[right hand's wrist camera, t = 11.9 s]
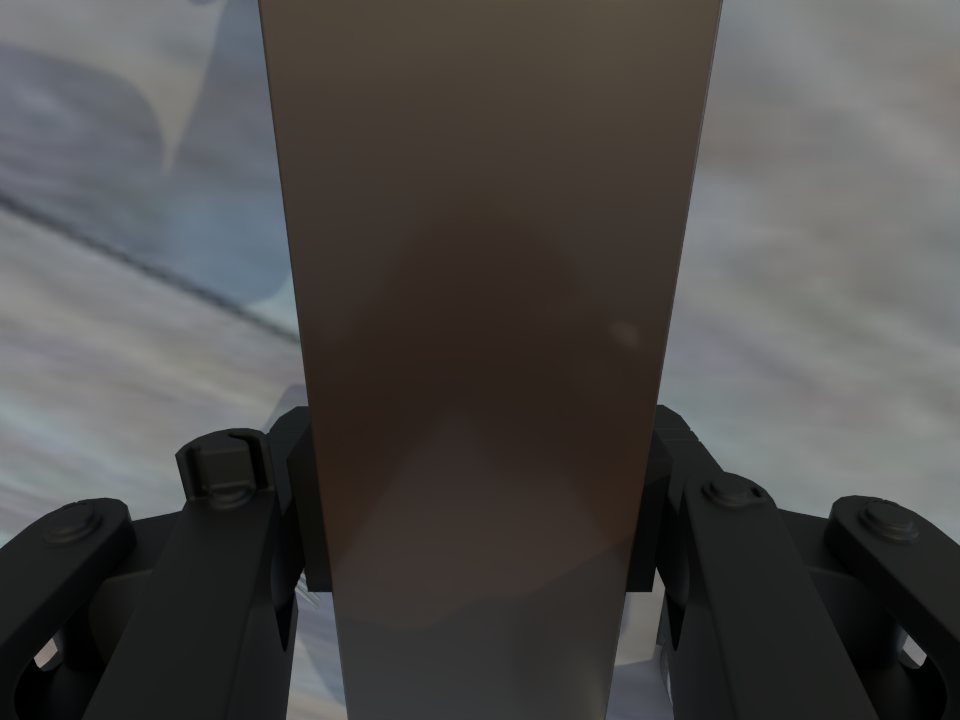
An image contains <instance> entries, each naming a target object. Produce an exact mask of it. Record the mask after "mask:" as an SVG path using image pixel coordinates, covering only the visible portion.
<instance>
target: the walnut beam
mask: <svg viewBox="0 0 960 720" xmlns="http://www.w3.org/2000/svg"><path fill="white" fill-rule="evenodd" d="M722 3H723V0H258V5H259V13H260V21H261V29H262V37H263V45H264V53H265V61H266V69H267V77H268V85H269V93H270V101H271V109H272V117H273V125H274V133H275V141H276V149H277V157H278V165H279V173H280V181H281V189H282V197H283V205H284V213H285V221H286V229H287V237H288V245H289V253H290V261H291V269H292V277H293V285H294V293H295V301H296V309H297V317H298V325H299V333H300V341H301V349H302V357H303V365H304V373H305V381H306V389H307V397H308V405H309V413H310V421H311V429H312V437H313V445H314V453H315V461H316V469H317V477H318V485H319V493H320V500H321V508H322V516H323V524H324V532H325V540H326V548H327V556H328V564H329V572H330V580H331V588H332V596H333V604H334V612H335V620H336V628H337V636H338V644H339V652H340V660H341V668H342V676H343V684H344V692H345V700H346V708H347V716H348V720H605V717H606V711H607V705H608V699H609V693H610V687H611V681H612V675H613V668H614V662H615V656H616V650H617V644H618V638H619V632H620V626H621V620H622V613H623V607H624V601H625V595H626V589H627V583H628V577H629V571H630V565H631V559H632V552H633V546H634V540H635V534H636V528H637V522H638V516H639V510H640V504H641V497H642V491H643V485H644V479H645V473H646V467H647V461H648V455H649V449H650V443H651V436H652V430H653V424H654V418H655V412H656V406H657V400H658V394H659V388H660V381H661V375H662V369H663V363H664V357H665V351H666V345H667V339H668V333H669V327H670V320H671V314H672V308H673V302H674V296H675V290H676V284H677V278H678V272H679V265H680V259H681V253H682V247H683V241H684V235H685V229H686V223H687V217H688V211H689V204H690V198H691V192H692V186H693V180H694V174H695V168H696V162H697V156H698V149H699V143H700V137H701V131H702V125H703V119H704V113H705V107H706V101H707V94H708V88H709V82H710V76H711V70H712V64H713V58H714V52H715V46H716V40H717V33H718V27H719V21H720V15H721V9H722Z"/></svg>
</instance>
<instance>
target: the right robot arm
mask: <svg viewBox="0 0 960 720" xmlns="http://www.w3.org/2000/svg"><path fill="white" fill-rule="evenodd" d="M175 457H176V461H177V465H178V468H179V472H180V476H181V480H182V484H183V488H184V492H185V496H186V500H187V501H186V503H185V505H184V507H183V509H182V511H179V512H175V513H171V514H166V515H161V516H156V517H150V518H145V519H140V520H135V521H132V520H131V516H130V513H129V510H128V507H127V505H126V504H124V503H123V502H122V501H120V500H118V499H111V498H97V499H86V500H81V501H78V502H77V503H75V502H74V503H70V504H67V505H65V506H63V507H61V508H59V509H57V510H55V511H53V512H50V513H48V514H46V515H44V516H43V517H41V518H40V519H38V520H37V521H35V522H34V523H32V524H31V525H29V526H28V527H27V528H25V529H24V530H23V531H22V532H20V533H19V534H18V535H17V536H15V537H14V538H13V539H12V540H10V541H9V542H8V543H7V544H6V545H4V546H3V547H2V548H1V549H0V720H286V713H287V705H288V696H289V688H290V679H291V670H292V662H293V653H294V645H295V636H296V628H297V619H298V605H297V599H296V593H295V588H296V585H297V583H298V581H299V578H300V576H301V574H302V571H303V569H304V572H305V578H306V584H307V590H308V592H332V588H331V580H330V572H329V564H328V556H327V548H326V540H325V532H324V524H323V516H322V508H321V500H320V493H319V485H318V477H317V469H316V461H315V453H314V445H313V437H312V429H311V421H310V413H309V406H297V407H295V408H294V409H292V410H291V411H289V412H287V413H286V414H284V415H283V416H281V417H279V419H278V420H277V421H276V423H275V424H274V425H273V426H272V428H271V429H270V433H267V434H266V435H265V434H264V433H263V432H261V431H259V430H254V429H249V428H232V429H226V430H221V431H216V432H212V433H209V434H207V435H204V436H201V437H198V438H196V439H194V440H193V441H191V442H189V443H187V444H186V445H184V446H183V447H182V448H181V449H180V450H179V451H178V452H177V453H176V454H175ZM656 567H657V570H658V572H659V574H660V577H661V579H662V581H663V583H664V586H665V593H664V599H663V605H662V610H661V616H660V622H659V627H658V633H657V640H656V644H658V645H663V641H664V636H665V644H664V647H663V650H662V655H661V673H662V678H663V681H664V684H665V687H666V690H667V693H668V695H669V698H670V701H671V704H672V707H673V712H674V720H960V545H958V544H957V543H956V542H955V541H953V540H952V539H951V538H950V537H948V536H947V535H946V534H945V533H943V532H942V531H941V530H940V529H938V528H937V527H936V526H935V525H933V524H932V523H931V522H929V521H928V520H926V519H924V518H923V517H921V516H920V515H918V514H917V513H915V512H913V511H911V510H909V509H907V508H904V507H902V506H900V505H898V504H897V503H895V502H891V501H888V500H883V499H881V498H876V497H867V496H857V495H853V496H846V497H841V498H839V499H838V500H837V501H835V502H834V503H833V505H832V509H831V512H830V515H829V518H828V519H826V518H821V517H816V516H811V515H806V514H801V513H796V512H790V511H786V510H782V509H778V508H777V506H776V504H775V502H774V500H773V499H772V498H771V496H770V495H769V494H768V493H767V491H766V490H765V489H763V488H762V487H760V486H759V485H757V484H756V483H755V482H753V481H751V480H749V479H746V478H744V477H741V476H739V475H737V474H732V473H728V472H724V471H723V470H722V469H721V467H720V466H719V465H718V463H717V462H716V461H715V460H714V458H713V457H712V456H711V454H710V453H709V452H708V450H707V449H706V448H705V447H704V445H703V444H702V443H701V442H699V441H698V438H697V436H696V435H695V434H694V432H693V431H690V427H689V426H688V425H687V423H686V422H685V421H684V420H683V418H682V417H681V416H680V415H679V414H677V413H675V412H674V411H672V410H670V409H669V408H667V407H666V406H664V405H657V406H656V412H655V418H654V424H653V430H652V436H651V443H650V449H649V455H648V461H647V467H646V473H645V479H644V485H643V491H642V497H641V504H640V510H639V516H638V522H637V528H636V534H635V540H634V546H633V552H632V559H631V565H630V571H629V577H628V583H627V589H626V592H652V588H653V582H654V576H655V570H656ZM908 635H909V636H910V637H911V638H912V639H913V640H914V641H915V642H916V643H917V645H918V646H919V647H920V648H921V649H922V650H923V651H924V652H925V653H926V654H927V657H926V659H925V661H924V663H923V665H922V666H919V665H918V664H917V663H916V662H915V661H913V660H912V659H911V658H910V657H909V655H908V654H907V653H906V652H905V651H904V648H903V646H904V644H905V641H906V639H907V637H908ZM51 638H53V640H54V642H55V645H56V647H57V650H58V651H57V652H56V653H55V655H54V656H53V657H52V658H51V659H50V660H49V661H48V662H47V663H46V664H45V665H43V666H42V667H41V668H39V667H38V666H37V664H36V662H35V660H34V657H35V656H36V655H37V654H38V652H39V651H40V650H41V649H42V648H43V647H44V646H45V645H46V644H47V642H48V641H49V640H50V639H51Z"/></svg>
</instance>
